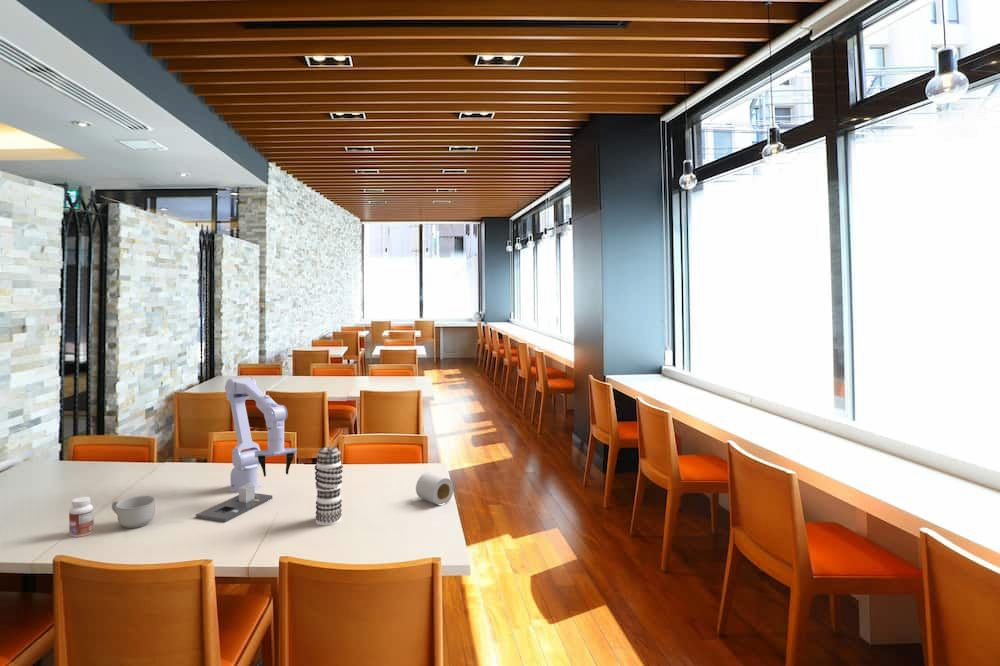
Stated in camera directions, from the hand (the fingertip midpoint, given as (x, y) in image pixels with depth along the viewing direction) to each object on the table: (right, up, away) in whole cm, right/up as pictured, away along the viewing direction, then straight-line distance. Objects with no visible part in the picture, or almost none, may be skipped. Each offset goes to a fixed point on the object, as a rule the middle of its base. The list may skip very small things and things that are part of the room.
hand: (275, 474), depth 212 cm
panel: (-11, -10, -8) cm, 17 cm away
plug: (-10, -10, -3) cm, 14 cm away
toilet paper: (+59, -11, +3) cm, 60 cm away
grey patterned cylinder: (+25, -12, -17) cm, 32 cm away
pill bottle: (-49, -11, -32) cm, 59 cm away
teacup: (-38, -11, -23) cm, 46 cm away
